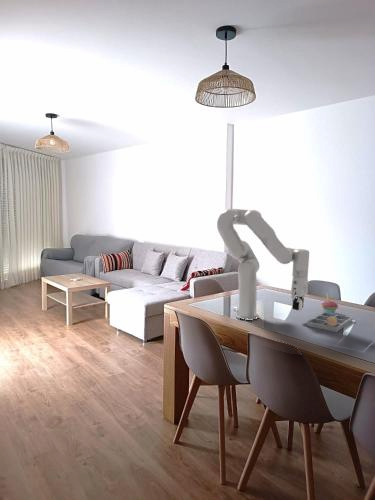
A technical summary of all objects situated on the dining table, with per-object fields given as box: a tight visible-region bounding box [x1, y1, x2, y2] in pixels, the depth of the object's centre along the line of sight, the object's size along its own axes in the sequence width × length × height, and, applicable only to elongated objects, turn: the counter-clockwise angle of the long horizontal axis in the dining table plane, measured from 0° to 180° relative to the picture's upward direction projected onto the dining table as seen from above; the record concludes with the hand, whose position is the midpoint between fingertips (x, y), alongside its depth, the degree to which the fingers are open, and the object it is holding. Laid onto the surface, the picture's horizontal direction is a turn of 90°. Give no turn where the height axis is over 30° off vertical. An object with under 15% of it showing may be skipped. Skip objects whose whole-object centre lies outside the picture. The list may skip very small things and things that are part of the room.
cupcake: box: [321, 293, 339, 314], centre depth 203 cm, size 9×8×12 cm
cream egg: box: [293, 298, 304, 312], centre depth 188 cm, size 4×4×6 cm
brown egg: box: [327, 316, 337, 327], centre depth 177 cm, size 4×4×6 cm
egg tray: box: [306, 311, 353, 333], centre depth 185 cm, size 15×22×2 cm
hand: (297, 308), depth 188 cm, fingers closed on cream egg, 4 cm apart
